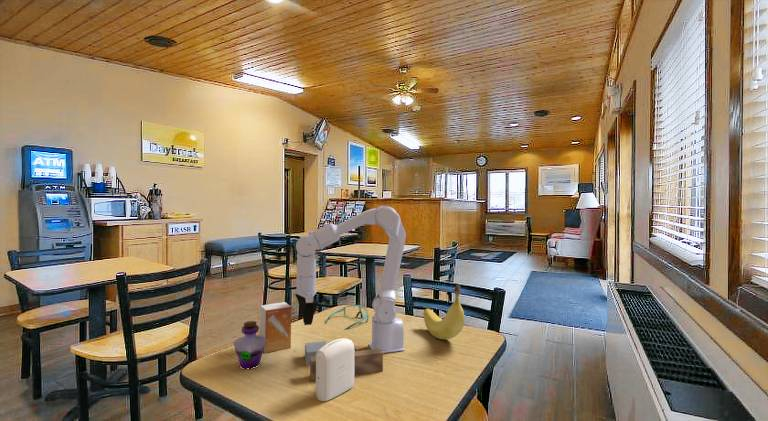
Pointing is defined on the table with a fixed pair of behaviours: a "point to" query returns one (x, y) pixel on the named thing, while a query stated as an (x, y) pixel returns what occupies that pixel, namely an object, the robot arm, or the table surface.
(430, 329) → the banana
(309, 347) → the slate block
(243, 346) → the potion bottle
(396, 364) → the table surface
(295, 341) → the table surface
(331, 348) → the photo printer
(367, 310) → the safety glasses
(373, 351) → the walnut board
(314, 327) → the table surface
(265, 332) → the small box
